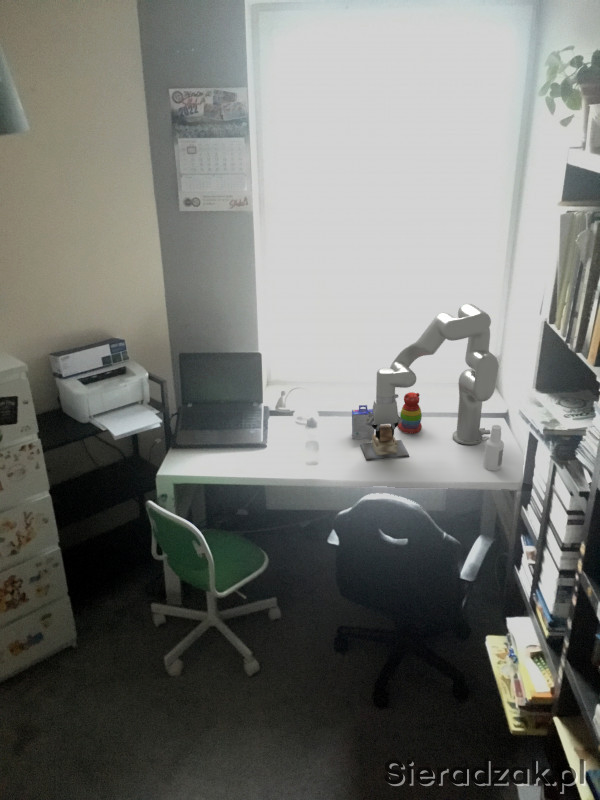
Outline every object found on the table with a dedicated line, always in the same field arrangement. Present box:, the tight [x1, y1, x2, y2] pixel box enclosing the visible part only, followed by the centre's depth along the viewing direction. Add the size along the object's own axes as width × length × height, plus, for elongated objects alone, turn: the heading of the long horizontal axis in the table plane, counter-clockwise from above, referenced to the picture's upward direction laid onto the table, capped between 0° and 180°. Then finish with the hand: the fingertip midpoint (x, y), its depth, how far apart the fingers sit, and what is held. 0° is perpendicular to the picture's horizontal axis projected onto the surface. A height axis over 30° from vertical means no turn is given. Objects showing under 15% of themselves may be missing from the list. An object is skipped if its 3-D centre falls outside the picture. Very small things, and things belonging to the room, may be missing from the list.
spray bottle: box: [483, 424, 505, 472], centre depth 253 cm, size 7×7×18 cm
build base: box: [359, 434, 410, 462], centre depth 269 cm, size 18×13×6 cm
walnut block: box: [379, 424, 392, 442], centre depth 267 cm, size 5×5×5 cm
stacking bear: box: [397, 391, 423, 434], centre depth 284 cm, size 11×10×18 cm
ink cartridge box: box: [351, 404, 375, 440], centre depth 280 cm, size 10×6×14 cm, turn 89°
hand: (384, 436), depth 268 cm, fingers closed on walnut block, 4 cm apart
